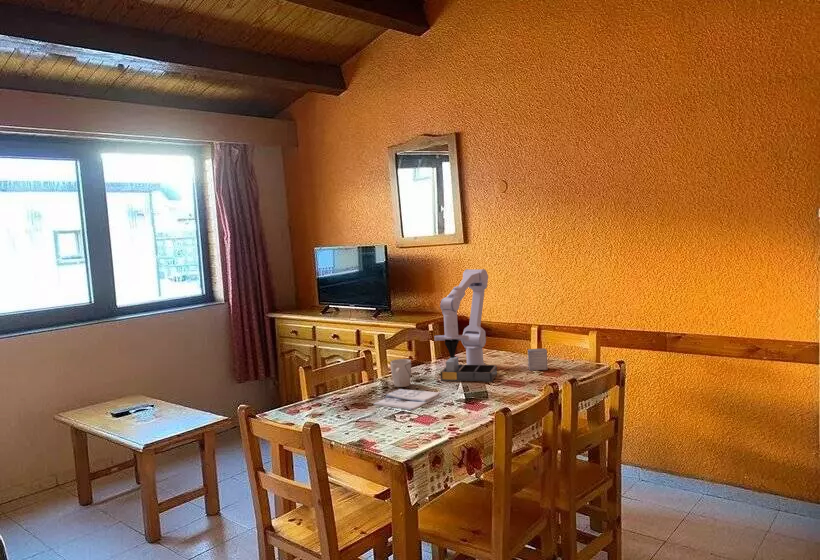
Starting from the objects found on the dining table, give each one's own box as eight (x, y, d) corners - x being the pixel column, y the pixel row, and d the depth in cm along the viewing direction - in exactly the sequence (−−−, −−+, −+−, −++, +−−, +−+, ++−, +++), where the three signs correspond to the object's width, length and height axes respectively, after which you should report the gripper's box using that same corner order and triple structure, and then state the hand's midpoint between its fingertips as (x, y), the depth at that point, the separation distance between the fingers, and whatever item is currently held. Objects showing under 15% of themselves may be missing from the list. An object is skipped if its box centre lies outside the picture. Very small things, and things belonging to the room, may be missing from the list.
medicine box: (546, 367, 267) (545, 348, 266) (547, 370, 263) (547, 350, 262) (528, 368, 268) (527, 348, 267) (529, 370, 263) (528, 350, 263)
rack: (448, 372, 267) (448, 364, 267) (496, 373, 261) (496, 365, 261) (440, 381, 254) (440, 372, 254) (491, 382, 248) (491, 373, 248)
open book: (442, 397, 232) (441, 392, 232) (412, 412, 216) (411, 406, 216) (401, 392, 243) (400, 386, 243) (369, 406, 227) (369, 400, 226)
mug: (408, 390, 243) (407, 365, 243) (387, 390, 245) (386, 365, 244) (414, 382, 255) (412, 358, 254) (394, 382, 256) (392, 359, 255)
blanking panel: (451, 373, 264) (450, 357, 263) (458, 373, 263) (458, 357, 262) (446, 378, 255) (445, 361, 255) (454, 378, 254) (453, 361, 254)
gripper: (431, 327, 256) (433, 359, 257) (465, 327, 252) (467, 359, 253) (436, 324, 263) (437, 355, 264) (469, 324, 259) (470, 355, 260)
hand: (452, 357), depth 259 cm, fingers closed
